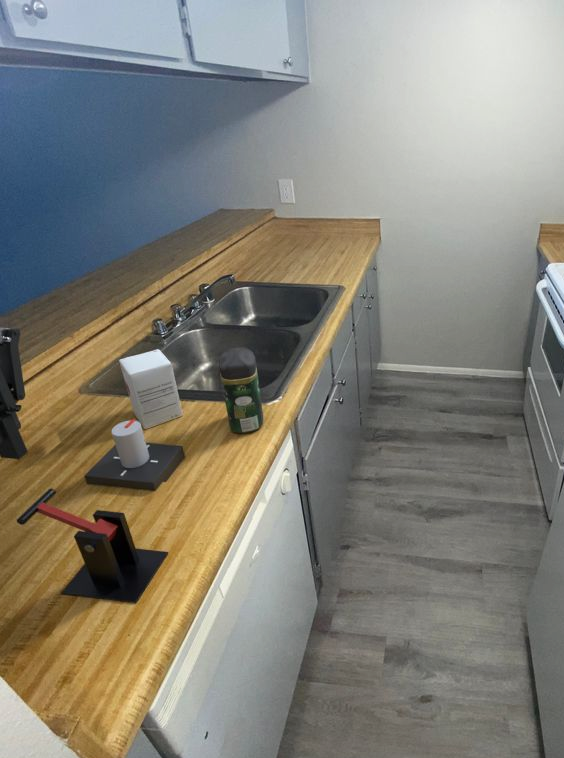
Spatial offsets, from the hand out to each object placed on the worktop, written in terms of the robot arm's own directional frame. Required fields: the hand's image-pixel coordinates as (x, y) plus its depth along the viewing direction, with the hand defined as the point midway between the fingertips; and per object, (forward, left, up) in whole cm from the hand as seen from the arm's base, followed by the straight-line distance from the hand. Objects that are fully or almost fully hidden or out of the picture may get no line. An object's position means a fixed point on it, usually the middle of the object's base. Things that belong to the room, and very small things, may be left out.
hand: (14, 454), depth 65 cm
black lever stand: (+9, 0, -24) cm, 26 cm away
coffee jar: (+13, +42, -24) cm, 50 cm away
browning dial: (-2, +23, -21) cm, 31 cm away
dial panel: (-2, +23, -24) cm, 33 cm away
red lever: (+4, 0, -13) cm, 14 cm away
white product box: (-9, +42, -24) cm, 49 cm away
